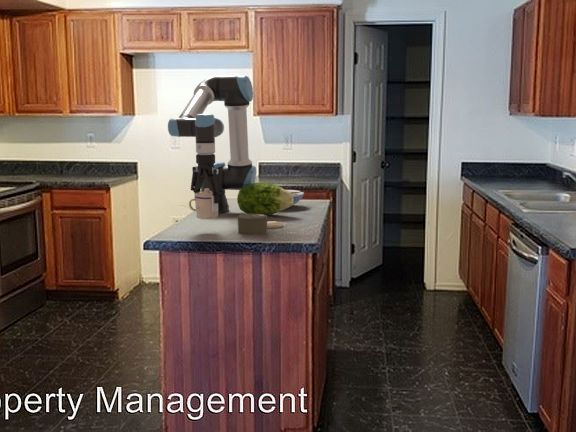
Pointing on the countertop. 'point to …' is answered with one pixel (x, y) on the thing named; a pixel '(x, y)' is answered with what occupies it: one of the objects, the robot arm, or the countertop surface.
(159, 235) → the countertop surface
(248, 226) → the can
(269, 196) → the lettuce
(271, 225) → the beech coaster
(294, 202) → the ramen bowl
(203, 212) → the teacup with lid
